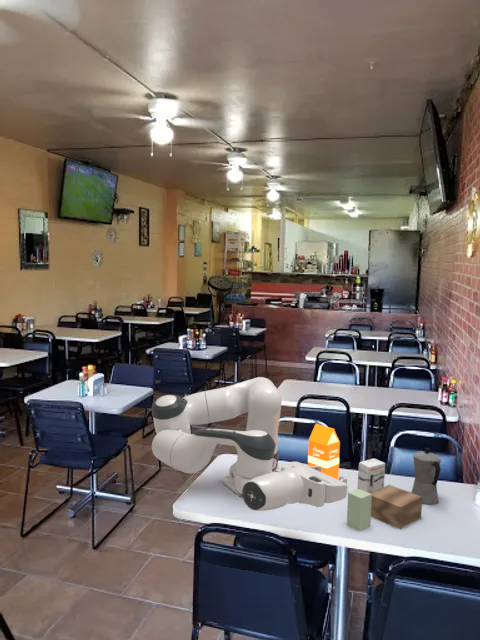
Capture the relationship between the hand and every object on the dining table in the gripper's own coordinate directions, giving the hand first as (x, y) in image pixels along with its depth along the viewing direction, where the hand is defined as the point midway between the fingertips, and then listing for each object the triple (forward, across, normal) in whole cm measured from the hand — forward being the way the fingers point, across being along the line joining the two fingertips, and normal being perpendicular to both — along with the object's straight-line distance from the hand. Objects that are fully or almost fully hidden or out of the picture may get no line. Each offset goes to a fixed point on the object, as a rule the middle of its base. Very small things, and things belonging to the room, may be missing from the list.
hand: (331, 474), depth 144 cm
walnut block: (+28, +2, -18) cm, 34 cm away
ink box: (+35, -12, -18) cm, 41 cm away
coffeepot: (+48, +2, -17) cm, 51 cm away
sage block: (+14, 0, -18) cm, 23 cm away
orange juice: (+33, -32, -18) cm, 49 cm away
